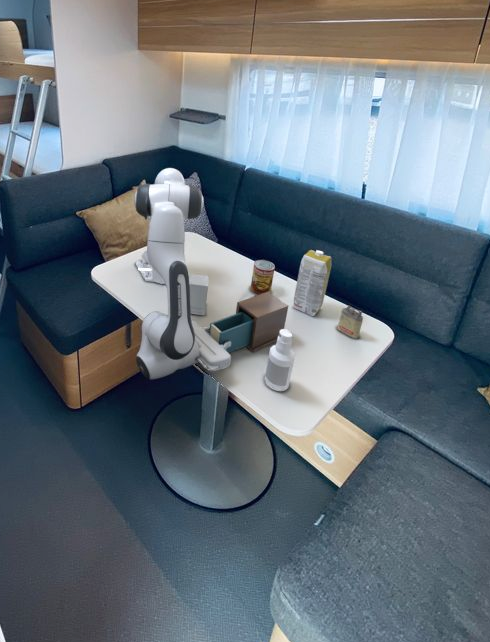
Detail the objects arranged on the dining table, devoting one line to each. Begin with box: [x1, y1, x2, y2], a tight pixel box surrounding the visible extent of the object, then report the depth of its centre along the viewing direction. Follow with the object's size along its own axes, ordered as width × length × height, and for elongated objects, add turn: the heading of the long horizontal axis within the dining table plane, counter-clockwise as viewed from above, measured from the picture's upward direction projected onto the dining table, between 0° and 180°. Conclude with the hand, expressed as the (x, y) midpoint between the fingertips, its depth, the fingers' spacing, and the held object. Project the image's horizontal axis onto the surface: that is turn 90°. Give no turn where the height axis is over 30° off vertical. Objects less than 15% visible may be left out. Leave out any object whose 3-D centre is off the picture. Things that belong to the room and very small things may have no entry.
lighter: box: [336, 304, 364, 339], centre depth 141 cm, size 7×4×10 cm, turn 37°
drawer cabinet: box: [235, 292, 289, 352], centre depth 138 cm, size 10×14×13 cm
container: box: [208, 312, 254, 354], centre depth 132 cm, size 6×14×9 cm, turn 118°
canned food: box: [250, 259, 276, 296], centre depth 164 cm, size 8×8×12 cm
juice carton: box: [293, 249, 332, 317], centre depth 151 cm, size 9×8×24 cm
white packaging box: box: [188, 273, 209, 316], centre depth 151 cm, size 7×7×13 cm
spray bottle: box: [264, 328, 296, 392], centre depth 118 cm, size 7×7×18 cm
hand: (222, 335), depth 130 cm, fingers closed on container, 5 cm apart
